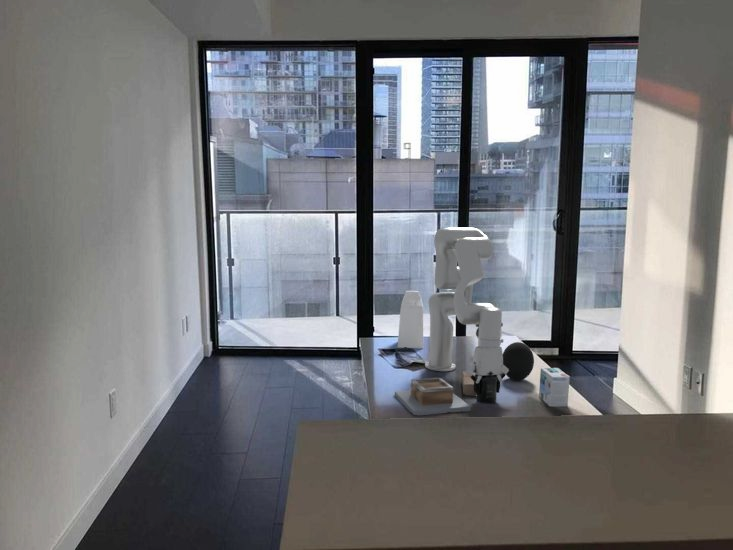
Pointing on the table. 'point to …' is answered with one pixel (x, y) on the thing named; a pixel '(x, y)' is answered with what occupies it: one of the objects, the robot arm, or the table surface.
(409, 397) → the baseplate
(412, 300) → the milk
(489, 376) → the supplement bottle
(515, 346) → the decorative egg
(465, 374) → the brick
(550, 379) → the light bulb box
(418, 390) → the plinth
